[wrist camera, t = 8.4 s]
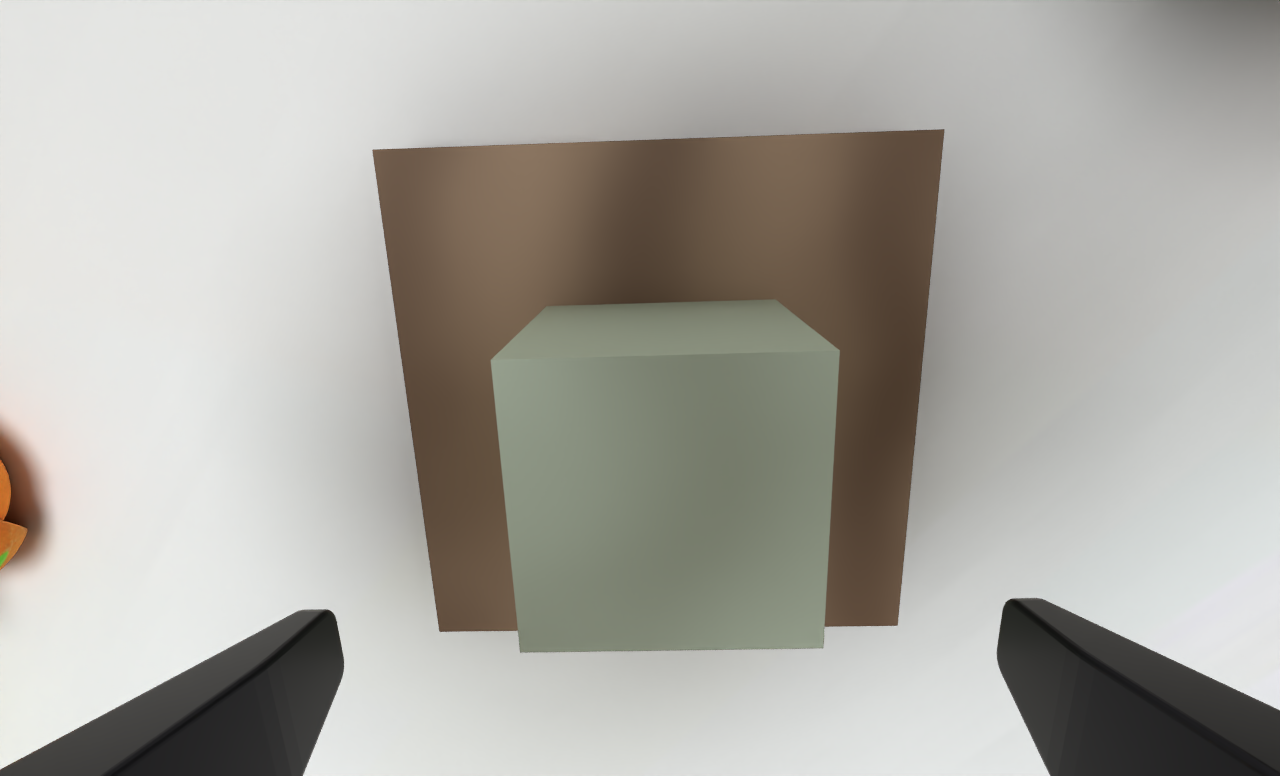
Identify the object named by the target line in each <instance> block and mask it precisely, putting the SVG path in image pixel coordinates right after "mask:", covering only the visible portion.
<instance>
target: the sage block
mask: <svg viewBox="0 0 1280 776" xmlns="http://www.w3.org/2000/svg"><path fill="white" fill-rule="evenodd" d="M839 355H840V350H839V349H837V348H836V347H835V346H833V345H832V344H831V343H830V342H828V341H827V340H826V339H825V338H823V337H822V336H821V335H820V334H818V333H817V332H816V331H815V330H813V329H812V328H811V327H810V326H808V325H807V324H806V323H805V322H803V321H802V320H801V319H800V318H798V317H797V316H796V315H795V314H793V313H792V312H791V311H789V310H788V309H787V308H786V307H784V306H783V305H782V304H781V303H779V302H778V301H777V300H776V299H769V300H736V301H703V302H669V303H636V304H603V305H569V306H546V307H545V308H544V309H543V310H542V311H541V312H540V313H539V314H538V315H537V316H536V317H535V318H534V319H533V320H532V321H531V322H530V323H529V324H528V325H527V326H526V327H524V328H523V329H522V330H521V331H520V332H519V333H518V334H517V335H516V336H515V337H514V338H513V339H512V340H511V341H510V342H509V343H508V344H507V345H506V346H505V347H504V348H503V349H502V350H501V351H500V352H498V353H497V354H496V355H495V356H494V357H493V358H492V359H491V369H492V379H493V389H494V398H495V408H496V418H497V428H498V438H499V448H500V458H501V468H502V477H503V487H504V497H505V507H506V517H507V527H508V537H509V547H510V557H511V566H512V576H513V586H514V596H515V606H516V616H517V626H518V636H519V645H520V652H589V651H661V650H734V649H806V648H823V644H824V626H825V608H826V590H827V572H828V554H829V536H830V518H831V500H832V481H833V463H834V445H835V427H836V409H837V391H838V373H839Z"/></svg>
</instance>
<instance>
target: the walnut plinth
mask: <svg viewBox="0 0 1280 776" xmlns="http://www.w3.org/2000/svg"><path fill="white" fill-rule="evenodd" d="M943 138H944V129H942V130H914V131H886V132H858V133H829V134H801V135H773V136H745V137H717V138H689V139H661V140H633V141H605V142H577V143H548V144H520V145H492V146H464V147H436V148H408V149H380V150H373V157H374V165H375V172H376V179H377V186H378V193H379V201H380V208H381V215H382V222H383V229H384V236H385V244H386V251H387V258H388V265H389V272H390V280H391V287H392V294H393V301H394V308H395V315H396V323H397V330H398V337H399V344H400V351H401V359H402V366H403V373H404V380H405V387H406V394H407V402H408V409H409V416H410V423H411V430H412V438H413V445H414V452H415V459H416V466H417V473H418V481H419V488H420V495H421V502H422V509H423V517H424V524H425V531H426V538H427V545H428V552H429V560H430V567H431V574H432V581H433V588H434V596H435V603H436V610H437V617H438V624H439V631H440V632H452V631H518V626H517V616H516V606H515V596H514V586H513V576H512V566H511V557H510V547H509V537H508V527H507V517H506V507H505V497H504V487H503V477H502V468H501V458H500V448H499V438H498V428H497V418H496V408H495V398H494V389H493V379H492V369H491V359H492V358H493V357H494V356H495V355H496V354H497V353H498V352H500V351H501V350H502V349H503V348H504V347H505V346H506V345H507V344H508V343H509V342H510V341H511V340H512V339H513V338H514V337H515V336H516V335H517V334H518V333H519V332H520V331H521V330H522V329H523V328H524V327H526V326H527V325H528V324H529V323H530V322H531V321H532V320H533V319H534V318H535V317H536V316H537V315H538V314H539V313H540V312H541V311H542V310H543V309H544V308H545V307H546V306H569V305H603V304H636V303H669V302H703V301H736V300H769V299H776V300H777V301H778V302H779V303H781V304H782V305H783V306H784V307H786V308H787V309H788V310H789V311H791V312H792V313H793V314H795V315H796V316H797V317H798V318H800V319H801V320H802V321H803V322H805V323H806V324H807V325H808V326H810V327H811V328H812V329H813V330H815V331H816V332H817V333H818V334H820V335H821V336H822V337H823V338H825V339H826V340H827V341H828V342H830V343H831V344H832V345H833V346H835V347H836V348H837V349H839V350H840V355H839V373H838V391H837V409H836V427H835V445H834V463H833V481H832V500H831V518H830V536H829V554H828V572H827V590H826V608H825V626H824V627H829V626H897V625H898V615H899V604H900V593H901V583H902V572H903V562H904V551H905V540H906V530H907V519H908V509H909V498H910V488H911V477H912V466H913V456H914V445H915V435H916V424H917V413H918V403H919V392H920V382H921V371H922V361H923V350H924V339H925V329H926V318H927V308H928V297H929V286H930V276H931V265H932V255H933V244H934V234H935V223H936V212H937V202H938V191H939V181H940V170H941V159H942V149H943Z"/></svg>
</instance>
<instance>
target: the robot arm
mask: <svg viewBox="0 0 1280 776" xmlns="http://www.w3.org/2000/svg"><path fill="white" fill-rule="evenodd" d="M997 660H998V665H999V668H1000V671H1001V673H1002V676H1003V678H1004V680H1005V682H1006V684H1007V686H1008V688H1009V690H1010V692H1011V695H1012V697H1013V699H1014V701H1015V703H1016V705H1017V707H1018V709H1019V711H1020V713H1021V716H1022V718H1023V720H1024V722H1025V724H1026V726H1027V728H1028V730H1029V732H1030V735H1031V737H1032V739H1033V741H1034V743H1035V745H1036V747H1037V749H1038V751H1039V754H1040V756H1041V758H1042V760H1043V762H1044V764H1045V766H1046V768H1047V770H1048V772H1049V774H1050V776H1280V710H1278V709H1276V708H1274V707H1272V706H1269V705H1267V704H1265V703H1263V702H1261V701H1259V700H1257V699H1255V698H1252V697H1250V696H1248V695H1246V694H1244V693H1242V692H1240V691H1237V690H1235V689H1233V688H1231V687H1229V686H1227V685H1225V684H1223V683H1220V682H1218V681H1216V680H1214V679H1212V678H1210V677H1208V676H1206V675H1203V674H1201V673H1199V672H1197V671H1195V670H1193V669H1191V668H1188V667H1186V666H1184V665H1182V664H1180V663H1178V662H1176V661H1174V660H1171V659H1169V658H1167V657H1165V656H1163V655H1161V654H1159V653H1157V652H1154V651H1152V650H1150V649H1148V648H1146V647H1144V646H1142V645H1139V644H1137V643H1135V642H1133V641H1131V640H1129V639H1127V638H1125V637H1122V636H1120V635H1118V634H1116V633H1114V632H1112V631H1110V630H1108V629H1105V628H1103V627H1101V626H1099V625H1097V624H1095V623H1093V622H1090V621H1088V620H1086V619H1084V618H1082V617H1080V616H1078V615H1076V614H1073V613H1071V612H1069V611H1067V610H1065V609H1063V608H1061V607H1059V606H1056V605H1054V604H1052V603H1050V602H1048V601H1046V600H1043V599H1039V598H1016V599H1010V600H1008V601H1007V602H1006V603H1005V605H1004V607H1003V612H1002V619H1001V625H1000V632H999V639H998V646H997ZM343 671H344V657H343V652H342V647H341V642H340V636H339V631H338V626H337V621H336V618H335V615H334V614H333V612H331V611H330V610H327V609H325V610H300V611H297V612H295V613H293V614H292V615H290V616H288V617H286V618H284V619H282V620H280V621H278V622H277V623H275V624H273V625H271V626H269V627H267V628H265V629H263V630H262V631H260V632H258V633H256V634H254V635H252V636H250V637H248V638H247V639H245V640H243V641H241V642H239V643H237V644H235V645H233V646H232V647H230V648H228V649H226V650H224V651H222V652H220V653H218V654H217V655H215V656H213V657H211V658H209V659H207V660H205V661H203V662H201V663H200V664H198V665H196V666H194V667H192V668H190V669H188V670H186V671H185V672H183V673H181V674H179V675H177V676H175V677H173V678H171V679H170V680H168V681H166V682H164V683H162V684H160V685H158V686H156V687H155V688H153V689H151V690H149V691H147V692H145V693H143V694H141V695H140V696H138V697H136V698H134V699H132V700H130V701H128V702H126V703H125V704H123V705H121V706H119V707H117V708H115V709H113V710H111V711H109V712H108V713H106V714H104V715H102V716H100V717H98V718H96V719H94V720H93V721H91V722H89V723H87V724H85V725H83V726H81V727H79V728H78V729H76V730H74V731H72V732H70V733H68V734H66V735H64V736H63V737H61V738H59V739H57V740H55V741H53V742H51V743H49V744H48V745H46V746H44V747H42V748H40V749H38V750H36V751H34V752H33V753H31V754H29V755H27V756H25V757H23V758H21V759H19V760H17V761H16V762H14V763H12V764H10V765H8V766H6V767H4V768H2V769H1V770H0V776H303V774H304V772H305V769H306V767H307V764H308V762H309V759H310V757H311V754H312V752H313V749H314V747H315V744H316V742H317V739H318V737H319V734H320V732H321V729H322V727H323V724H324V722H325V719H326V717H327V715H328V712H329V710H330V707H331V705H332V702H333V700H334V697H335V695H336V692H337V690H338V687H339V685H340V682H341V679H342V676H343Z"/></svg>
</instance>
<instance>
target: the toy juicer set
mask: <svg viewBox="0 0 1280 776" xmlns="http://www.w3.org/2000/svg"><path fill="white" fill-rule="evenodd" d="M10 499H11V485H10V480H9V475H8V473H7V470H6V468H5V466H4V464H3V463H2V461H1V460H0V570H1V569H2V568H3V567H4V566H5V565H6V564H7V563H8V562H9V561H10V560H11V558H12V557H13V556H14V555H15V554H16V552H17V551H18V549H19V547H20V546H21V544H22V543H23V541H24V538H25V536H26V534H27V531H28V530H27V528H25V527H22V526H20V525H17V524H13V523H10V522H6V521H3V520H4V518H5V516H6V515H7V512H8V510H9V505H10Z"/></svg>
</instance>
